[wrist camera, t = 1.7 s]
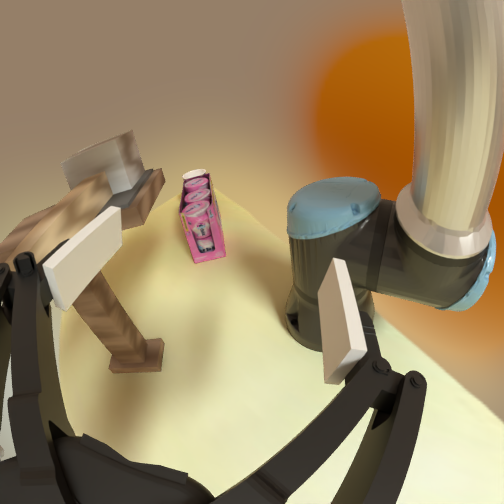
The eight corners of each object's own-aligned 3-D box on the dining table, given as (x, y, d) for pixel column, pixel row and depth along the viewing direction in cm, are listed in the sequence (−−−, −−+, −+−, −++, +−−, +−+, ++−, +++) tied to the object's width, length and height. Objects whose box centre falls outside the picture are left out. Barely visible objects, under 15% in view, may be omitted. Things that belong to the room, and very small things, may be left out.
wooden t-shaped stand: (92, 327, 50) (23, 216, 34) (212, 311, 50) (160, 165, 33) (78, 372, 40) (-14, 257, 24) (212, 366, 40) (135, 203, 23)
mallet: (95, 187, 33) (82, 149, 29) (145, 171, 32) (132, 129, 29) (8, 297, 15) (-29, 237, 11) (69, 285, 15) (26, 205, 11)
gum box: (227, 260, 62) (213, 207, 54) (194, 268, 62) (176, 217, 54) (220, 213, 82) (210, 172, 74) (195, 220, 81) (183, 179, 73)
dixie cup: (212, 205, 87) (204, 174, 81) (189, 210, 87) (180, 180, 81) (213, 196, 93) (206, 167, 87) (192, 200, 94) (183, 172, 87)
